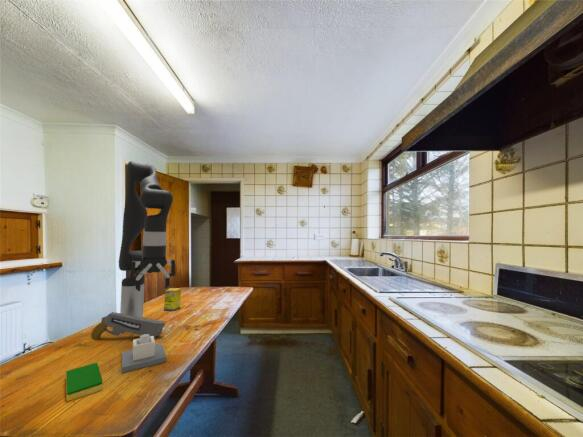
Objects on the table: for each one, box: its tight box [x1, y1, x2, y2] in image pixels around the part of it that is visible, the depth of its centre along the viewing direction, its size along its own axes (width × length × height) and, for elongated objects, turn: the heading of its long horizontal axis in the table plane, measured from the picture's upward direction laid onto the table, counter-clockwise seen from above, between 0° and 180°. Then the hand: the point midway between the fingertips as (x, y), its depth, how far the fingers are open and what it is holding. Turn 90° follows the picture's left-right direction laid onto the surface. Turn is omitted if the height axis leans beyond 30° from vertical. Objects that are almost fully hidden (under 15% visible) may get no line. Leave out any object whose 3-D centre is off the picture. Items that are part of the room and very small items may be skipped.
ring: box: [132, 336, 156, 361], centre depth 83 cm, size 6×6×4 cm
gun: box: [90, 311, 166, 340], centre depth 100 cm, size 3×25×15 cm, turn 95°
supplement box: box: [163, 287, 182, 312], centre depth 137 cm, size 6×6×11 cm
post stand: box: [121, 334, 167, 374], centre depth 83 cm, size 12×12×8 cm
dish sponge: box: [65, 362, 104, 402], centre depth 69 cm, size 7×14×2 cm, turn 43°
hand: (152, 289), depth 90 cm, fingers open, 8 cm apart
